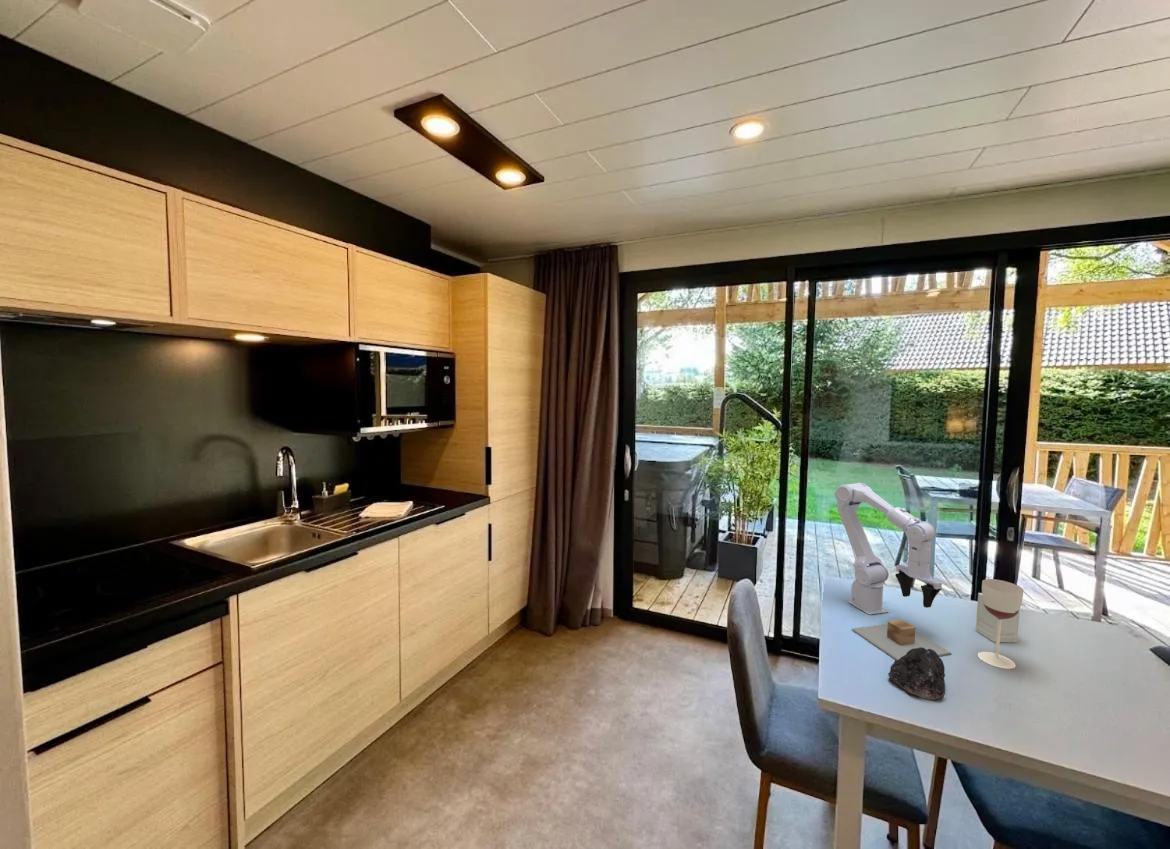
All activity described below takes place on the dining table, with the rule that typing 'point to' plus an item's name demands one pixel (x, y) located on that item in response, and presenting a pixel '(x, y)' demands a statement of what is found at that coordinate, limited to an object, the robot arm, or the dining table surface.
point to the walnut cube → (901, 632)
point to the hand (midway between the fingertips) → (916, 601)
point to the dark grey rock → (920, 673)
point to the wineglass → (1000, 614)
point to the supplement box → (995, 624)
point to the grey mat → (891, 648)
